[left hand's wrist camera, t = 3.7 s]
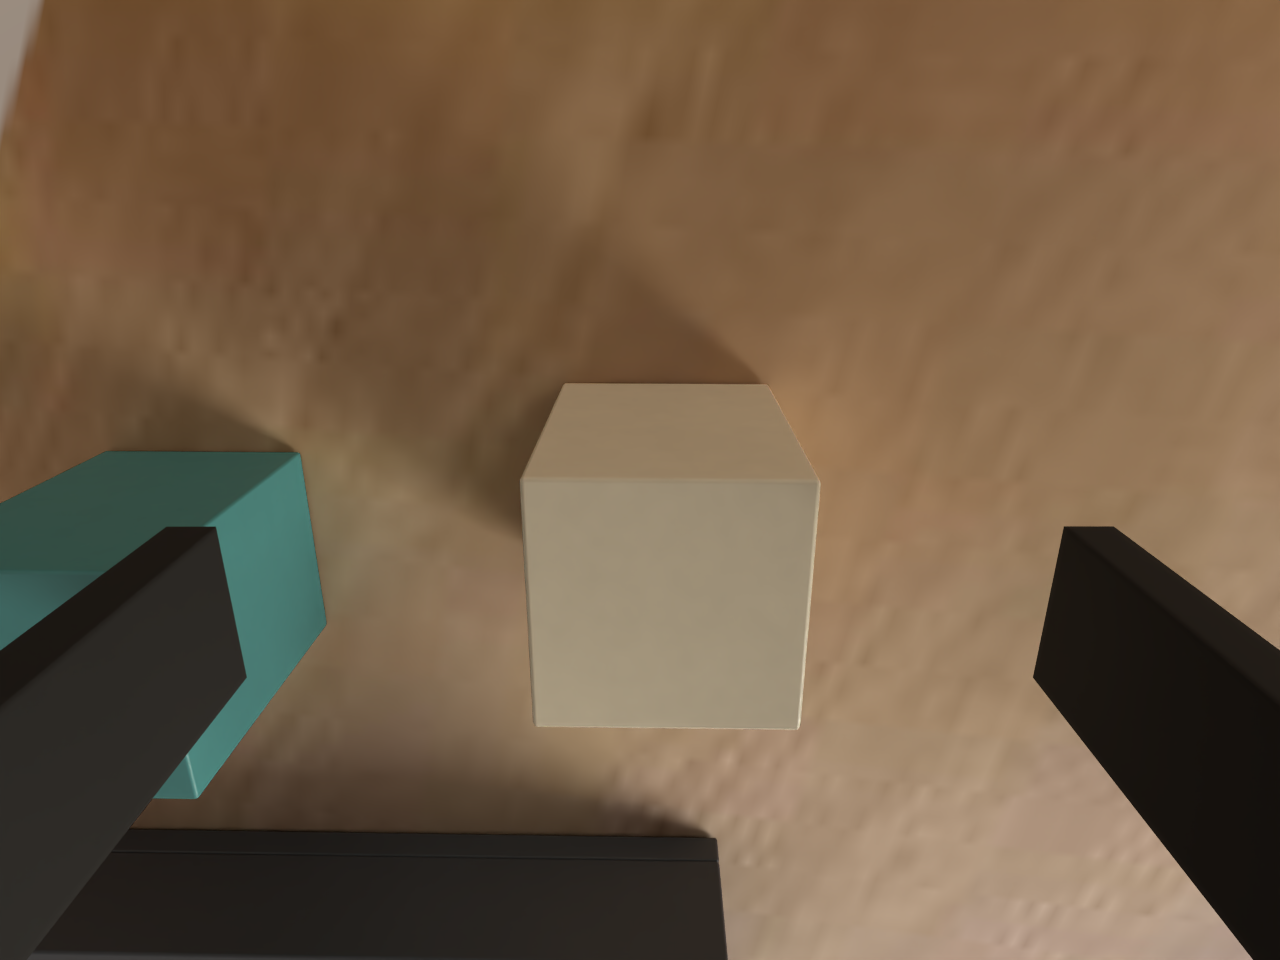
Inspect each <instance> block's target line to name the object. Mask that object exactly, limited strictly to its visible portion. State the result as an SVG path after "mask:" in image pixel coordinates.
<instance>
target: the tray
mask: <svg viewBox="0 0 1280 960" xmlns="http://www.w3.org/2000/svg"><path fill="white" fill-rule="evenodd" d="M27 960H728V956H727V945H726V934H725V923H724V912H723V901H722V890H721V879H720V868H719V857H718V846H717V840H716V838H680V837H613V836H545V835H478V834H410V833H343V832H276V831H208V830H141V829H128V831H127V832H126V833H125V834H124V836H123V837H122V838H121V840H120V841H119V842H118V843H117V845H116V846H115V847H114V849H113V850H112V851H111V852H110V854H109V855H108V856H107V858H106V859H105V860H104V861H103V863H102V864H101V865H100V867H99V868H98V869H97V870H96V872H95V873H94V874H93V876H92V877H91V878H90V879H89V881H88V882H87V883H86V884H85V886H84V887H83V888H82V890H81V891H80V892H79V893H78V895H77V896H76V897H75V899H74V900H73V901H72V902H71V904H70V905H69V906H68V908H67V909H66V910H65V911H64V913H63V914H62V915H61V917H60V918H59V919H58V920H57V922H56V923H55V924H54V926H53V927H52V928H51V929H50V931H49V932H48V933H47V934H46V936H45V937H44V938H43V940H42V941H41V942H40V943H39V945H38V946H37V947H36V949H35V950H34V951H33V952H32V954H31V955H30V956H29V958H28V959H27Z"/></svg>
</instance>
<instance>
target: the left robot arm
mask: <svg viewBox="0 0 1280 960" xmlns="http://www.w3.org/2000/svg"><path fill="white" fill-rule="evenodd" d="M246 678H247V675H246V670H245V666H244V661H243V656H242V651H241V646H240V641H239V636H238V632H237V627H236V622H235V617H234V612H233V607H232V602H231V597H230V593H229V588H228V583H227V578H226V573H225V568H224V563H223V559H222V554H221V549H220V544H219V539H218V534H217V529H216V527H165V528H164V529H163V530H161V531H160V532H158V533H157V534H156V535H154V536H153V537H152V538H150V539H149V540H148V541H146V542H145V543H144V544H142V545H141V546H140V547H138V548H137V549H136V550H134V551H133V552H132V553H130V554H129V555H128V556H126V557H125V558H124V559H122V560H121V561H120V562H118V563H117V564H116V565H114V566H113V567H112V568H110V569H109V570H108V571H106V572H105V573H104V574H102V575H101V576H99V577H98V578H97V579H95V580H94V581H93V582H91V583H90V584H89V585H87V586H86V587H85V588H83V589H82V590H81V591H79V592H78V593H77V594H75V595H74V596H73V597H71V598H70V599H69V600H67V601H66V602H65V603H63V604H62V605H61V606H59V607H58V608H57V609H55V610H54V611H53V612H51V613H50V614H49V615H47V616H46V617H44V618H43V619H42V620H40V621H39V622H38V623H36V624H35V625H34V626H32V627H31V628H30V629H28V630H27V631H26V632H24V633H23V634H22V635H20V636H19V637H18V638H16V639H15V640H14V641H12V642H11V643H10V644H8V645H7V646H6V647H4V648H3V649H2V650H0V960H27V959H28V958H29V956H30V955H31V954H32V952H33V951H34V950H35V949H36V947H37V946H38V945H39V943H40V942H41V941H42V940H43V938H44V937H45V936H46V934H47V933H48V932H49V931H50V929H51V928H52V927H53V926H54V924H55V923H56V922H57V920H58V919H59V918H60V917H61V915H62V914H63V913H64V911H65V910H66V909H67V908H68V906H69V905H70V904H71V902H72V901H73V900H74V899H75V897H76V896H77V895H78V893H79V892H80V891H81V890H82V888H83V887H84V886H85V884H86V883H87V882H88V881H89V879H90V878H91V877H92V876H93V874H94V873H95V872H96V870H97V869H98V868H99V867H100V865H101V864H102V863H103V861H104V860H105V859H106V858H107V856H108V855H109V854H110V852H111V851H112V850H113V849H114V847H115V846H116V845H117V843H118V842H119V841H120V840H121V838H122V837H123V836H124V834H125V833H126V832H127V831H128V829H129V828H130V827H131V825H132V824H133V823H134V822H135V820H136V819H137V818H138V817H139V815H140V814H141V813H142V811H143V810H144V809H145V808H146V806H147V805H148V804H149V802H150V801H151V800H152V799H153V797H154V796H155V795H156V793H157V792H158V791H159V790H160V788H161V787H162V786H163V784H164V783H165V782H166V781H167V779H168V778H169V777H170V775H171V774H172V773H173V772H174V770H175V769H176V768H177V767H178V765H179V764H180V763H181V761H182V760H183V759H184V758H185V756H186V755H187V754H188V752H189V751H190V750H191V749H192V747H193V746H194V745H195V743H196V742H197V741H198V740H199V738H200V737H201V736H202V734H203V733H204V732H205V731H206V729H207V728H208V727H209V725H210V724H211V723H212V722H213V720H214V719H215V718H216V717H217V715H218V714H219V713H220V711H221V710H222V709H223V708H224V706H225V705H226V704H227V702H228V701H229V700H230V699H231V697H232V696H233V695H234V693H235V692H236V691H237V690H238V688H239V687H240V686H241V684H242V683H243V682H244V681H245V679H246ZM1033 678H1034V679H1035V681H1036V682H1037V683H1038V684H1039V686H1040V687H1041V688H1042V690H1043V691H1044V692H1045V693H1046V695H1047V696H1048V697H1049V699H1050V700H1051V701H1052V702H1053V704H1054V705H1055V706H1056V708H1057V709H1058V710H1059V711H1060V713H1061V714H1062V715H1063V717H1064V718H1065V719H1066V720H1067V722H1068V723H1069V724H1070V725H1071V727H1072V728H1073V729H1074V731H1075V732H1076V733H1077V734H1078V736H1079V737H1080V738H1081V740H1082V741H1083V742H1084V743H1085V745H1086V746H1087V747H1088V749H1089V750H1090V751H1091V752H1092V754H1093V755H1094V756H1095V758H1096V759H1097V760H1098V761H1099V763H1100V764H1101V765H1102V767H1103V768H1104V769H1105V770H1106V772H1107V773H1108V774H1109V775H1110V777H1111V778H1112V779H1113V781H1114V782H1115V783H1116V784H1117V786H1118V787H1119V788H1120V790H1121V791H1122V792H1123V793H1124V795H1125V796H1126V797H1127V799H1128V800H1129V801H1130V802H1131V804H1132V805H1133V806H1134V808H1135V809H1136V810H1137V811H1138V813H1139V814H1140V815H1141V817H1142V818H1143V819H1144V820H1145V822H1146V823H1147V824H1148V826H1149V827H1150V828H1151V829H1152V831H1153V832H1154V833H1155V834H1156V836H1157V837H1158V838H1159V840H1160V841H1161V842H1162V843H1163V845H1164V846H1165V847H1166V849H1167V850H1168V851H1169V852H1170V854H1171V855H1172V856H1173V858H1174V859H1175V860H1176V861H1177V863H1178V864H1179V865H1180V867H1181V868H1182V869H1183V870H1184V872H1185V873H1186V874H1187V876H1188V877H1189V878H1190V879H1191V881H1192V882H1193V883H1194V884H1195V886H1196V887H1197V888H1198V890H1199V891H1200V892H1201V893H1202V895H1203V896H1204V897H1205V899H1206V900H1207V901H1208V902H1209V904H1210V905H1211V906H1212V908H1213V909H1214V910H1215V911H1216V913H1217V914H1218V915H1219V917H1220V918H1221V919H1222V920H1223V922H1224V923H1225V924H1226V926H1227V927H1228V928H1229V929H1230V931H1231V932H1232V933H1233V934H1234V936H1235V937H1236V938H1237V940H1238V941H1239V942H1240V943H1241V945H1242V946H1243V947H1244V949H1245V950H1246V951H1247V952H1248V954H1249V955H1250V956H1251V958H1252V959H1253V960H1280V650H1278V649H1277V648H1276V647H1274V646H1273V645H1272V644H1270V643H1269V642H1268V641H1266V640H1265V639H1264V638H1262V637H1261V636H1260V635H1258V634H1257V633H1256V632H1254V631H1253V630H1252V629H1250V628H1249V627H1248V626H1246V625H1245V624H1244V623H1242V622H1241V621H1240V620H1238V619H1237V618H1236V617H1234V616H1233V615H1231V614H1230V613H1229V612H1227V611H1226V610H1225V609H1223V608H1222V607H1221V606H1219V605H1218V604H1217V603H1215V602H1214V601H1213V600H1211V599H1210V598H1209V597H1207V596H1206V595H1205V594H1203V593H1202V592H1201V591H1199V590H1198V589H1197V588H1195V587H1194V586H1193V585H1191V584H1190V583H1189V582H1187V581H1186V580H1185V579H1183V578H1182V577H1181V576H1179V575H1178V574H1176V573H1175V572H1174V571H1172V570H1171V569H1170V568H1168V567H1167V566H1166V565H1164V564H1163V563H1162V562H1160V561H1159V560H1158V559H1156V558H1155V557H1154V556H1152V555H1151V554H1150V553H1148V552H1147V551H1146V550H1144V549H1143V548H1142V547H1140V546H1139V545H1138V544H1136V543H1135V542H1134V541H1132V540H1131V539H1130V538H1128V537H1127V536H1126V535H1124V534H1123V533H1122V532H1120V531H1119V530H1117V529H1116V528H1115V527H1064V529H1063V534H1062V539H1061V544H1060V549H1059V554H1058V559H1057V563H1056V568H1055V573H1054V578H1053V583H1052V588H1051V593H1050V597H1049V602H1048V607H1047V612H1046V617H1045V622H1044V627H1043V631H1042V636H1041V641H1040V646H1039V651H1038V656H1037V661H1036V666H1035V670H1034V675H1033Z"/></svg>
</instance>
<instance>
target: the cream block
mask: <svg viewBox="0 0 1280 960" xmlns="http://www.w3.org/2000/svg"><path fill="white" fill-rule="evenodd" d="M820 487H821V483H820V480H819V478H818V476H817V474H816V472H815V471H814V469H813V467H812V465H811V463H810V461H809V459H808V458H807V456H806V454H805V452H804V450H803V448H802V446H801V445H800V443H799V441H798V439H797V437H796V435H795V434H794V432H793V430H792V428H791V426H790V424H789V422H788V421H787V419H786V417H785V415H784V413H783V411H782V410H781V408H780V406H779V404H778V402H777V400H776V398H775V397H774V395H773V393H772V391H771V389H770V387H769V386H768V385H766V384H608V383H565V384H563V386H562V388H561V391H560V393H559V395H558V397H557V399H556V402H555V404H554V406H553V408H552V410H551V413H550V415H549V417H548V419H547V421H546V424H545V426H544V428H543V430H542V432H541V435H540V437H539V439H538V441H537V443H536V446H535V448H534V450H533V452H532V454H531V457H530V459H529V461H528V463H527V465H526V468H525V470H524V472H523V474H522V476H521V479H520V497H521V515H522V533H523V551H524V569H525V587H526V604H527V622H528V640H529V658H530V676H531V694H532V712H533V723H534V725H535V726H537V727H606V728H687V729H768V730H797V729H799V727H800V723H801V712H802V700H803V688H804V676H805V664H806V652H807V641H808V629H809V617H810V605H811V593H812V581H813V569H814V558H815V546H816V534H817V522H818V510H819V498H820Z"/></svg>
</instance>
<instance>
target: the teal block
mask: <svg viewBox="0 0 1280 960" xmlns="http://www.w3.org/2000/svg"><path fill="white" fill-rule="evenodd" d="M165 527H216V529H217V534H218V539H219V544H220V549H221V554H222V559H223V563H224V568H225V573H226V578H227V583H228V588H229V593H230V597H231V602H232V607H233V612H234V617H235V622H236V627H237V632H238V636H239V641H240V646H241V651H242V656H243V661H244V666H245V670H246V675H247V678H246V679H245V681H244V682H243V683H242V684H241V686H240V687H239V688H238V690H237V691H236V692H235V693H234V695H233V696H232V697H231V699H230V700H229V701H228V702H227V704H226V705H225V706H224V708H223V709H222V710H221V711H220V713H219V714H218V715H217V717H216V718H215V719H214V720H213V722H212V723H211V724H210V725H209V727H208V728H207V729H206V731H205V732H204V733H203V734H202V736H201V737H200V738H199V740H198V741H197V742H196V743H195V745H194V746H193V747H192V749H191V750H190V751H189V752H188V754H187V755H186V756H185V758H184V759H183V760H182V761H181V763H180V764H179V765H178V767H177V768H176V769H175V770H174V772H173V773H172V774H171V775H170V777H169V778H168V779H167V781H166V782H165V783H164V784H163V786H162V787H161V788H160V790H159V791H158V792H157V793H156V795H155V796H154V797H153V798H164V799H196V798H198V797H199V796H200V795H201V793H202V792H203V791H204V789H205V788H206V787H207V785H208V784H209V783H210V781H211V780H212V779H213V777H214V776H215V775H216V773H217V772H218V770H219V769H220V768H221V766H222V765H223V764H224V762H225V761H226V760H227V758H228V757H229V756H230V754H231V753H232V752H233V750H234V749H235V747H236V746H237V745H238V743H239V742H240V741H241V739H242V738H243V737H244V735H245V734H246V733H247V731H248V730H249V729H250V727H251V726H252V725H253V723H254V722H255V720H256V719H257V718H258V716H259V715H260V714H261V712H262V711H263V710H264V708H265V707H266V706H267V704H268V703H269V702H270V700H271V699H272V698H273V696H274V695H275V693H276V692H277V691H278V689H279V688H280V687H281V685H282V684H283V683H284V681H285V680H286V679H287V677H288V676H289V675H290V673H291V672H292V670H293V669H294V668H295V666H296V665H297V664H298V662H299V661H300V660H301V658H302V657H303V656H304V654H305V653H306V652H307V650H308V649H309V648H310V646H311V645H312V643H313V642H314V641H315V639H316V638H317V637H318V635H319V634H320V633H321V631H322V630H323V629H324V627H325V626H326V624H327V623H326V616H325V610H324V604H323V597H322V591H321V584H320V578H319V572H318V565H317V559H316V552H315V546H314V540H313V533H312V527H311V520H310V514H309V508H308V501H307V495H306V488H305V482H304V476H303V469H302V463H301V456H300V453H297V452H156V451H106V452H103V453H101V454H99V455H97V456H95V457H93V458H91V459H89V460H87V461H85V462H83V463H81V464H79V465H77V466H75V467H73V468H71V469H69V470H67V471H65V472H63V473H61V474H59V475H57V476H55V477H53V478H51V479H49V480H47V481H45V482H43V483H41V484H39V485H37V486H35V487H33V488H31V489H29V490H27V491H25V492H23V493H20V494H18V495H16V496H14V497H12V498H10V499H8V500H6V501H4V502H2V503H0V650H2V649H3V648H4V647H6V646H7V645H8V644H10V643H11V642H12V641H14V640H15V639H16V638H18V637H19V636H20V635H22V634H23V633H24V632H26V631H27V630H28V629H30V628H31V627H32V626H34V625H35V624H36V623H38V622H39V621H40V620H42V619H43V618H44V617H46V616H47V615H49V614H50V613H51V612H53V611H54V610H55V609H57V608H58V607H59V606H61V605H62V604H63V603H65V602H66V601H67V600H69V599H70V598H71V597H73V596H74V595H75V594H77V593H78V592H79V591H81V590H82V589H83V588H85V587H86V586H87V585H89V584H90V583H91V582H93V581H94V580H95V579H97V578H98V577H99V576H101V575H102V574H104V573H105V572H106V571H108V570H109V569H110V568H112V567H113V566H114V565H116V564H117V563H118V562H120V561H121V560H122V559H124V558H125V557H126V556H128V555H129V554H130V553H132V552H133V551H134V550H136V549H137V548H138V547H140V546H141V545H142V544H144V543H145V542H146V541H148V540H149V539H150V538H152V537H153V536H154V535H156V534H157V533H158V532H160V531H161V530H163V529H164V528H165Z"/></svg>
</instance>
